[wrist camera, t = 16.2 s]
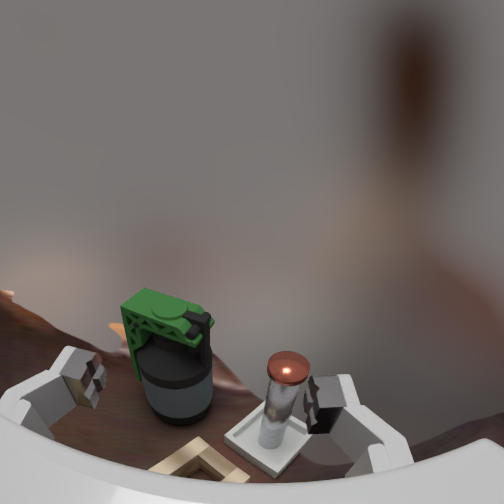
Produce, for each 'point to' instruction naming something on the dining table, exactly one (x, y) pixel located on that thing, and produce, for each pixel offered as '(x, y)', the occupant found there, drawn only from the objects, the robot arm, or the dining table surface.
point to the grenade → (170, 354)
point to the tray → (267, 460)
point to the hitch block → (200, 463)
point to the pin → (281, 395)
